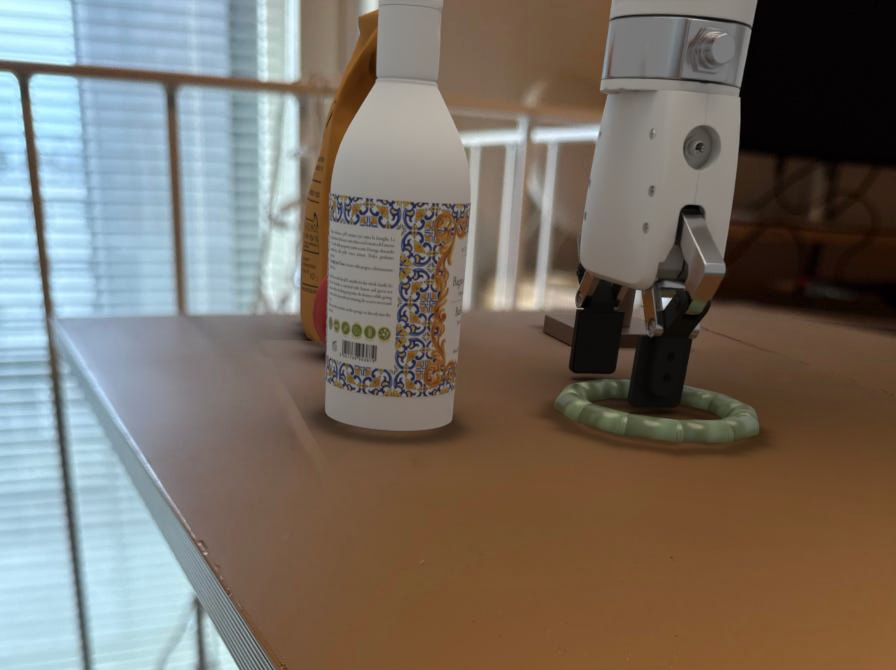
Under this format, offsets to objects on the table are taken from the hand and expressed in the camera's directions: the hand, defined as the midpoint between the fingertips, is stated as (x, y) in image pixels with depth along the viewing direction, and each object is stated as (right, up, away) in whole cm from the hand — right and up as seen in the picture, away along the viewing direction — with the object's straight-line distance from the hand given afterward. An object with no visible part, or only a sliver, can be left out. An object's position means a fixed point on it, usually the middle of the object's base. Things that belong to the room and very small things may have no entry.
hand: (620, 387), depth 60 cm
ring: (+1, -3, -4) cm, 5 cm away
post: (+4, +10, +23) cm, 25 cm away
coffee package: (-17, +8, +17) cm, 25 cm away
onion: (-17, +2, +6) cm, 18 cm away
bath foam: (-14, -4, -7) cm, 17 cm away
